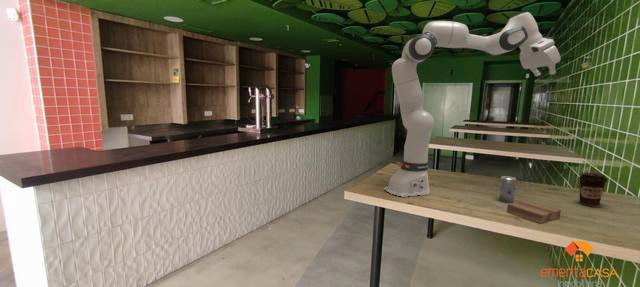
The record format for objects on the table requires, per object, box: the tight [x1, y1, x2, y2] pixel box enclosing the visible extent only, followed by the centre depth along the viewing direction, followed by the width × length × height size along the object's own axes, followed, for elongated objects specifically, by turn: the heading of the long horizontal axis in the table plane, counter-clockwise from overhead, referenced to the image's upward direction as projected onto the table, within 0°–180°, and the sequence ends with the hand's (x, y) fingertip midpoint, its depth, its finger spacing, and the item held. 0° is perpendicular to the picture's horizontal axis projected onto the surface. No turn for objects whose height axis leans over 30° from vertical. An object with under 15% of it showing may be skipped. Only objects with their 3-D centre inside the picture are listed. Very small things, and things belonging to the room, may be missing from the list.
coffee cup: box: [578, 172, 608, 208], centre depth 119 cm, size 9×8×13 cm
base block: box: [506, 199, 562, 224], centre depth 111 cm, size 12×12×3 cm
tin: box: [498, 175, 517, 204], centre depth 125 cm, size 6×6×10 cm
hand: (545, 74), depth 131 cm, fingers open, 8 cm apart
